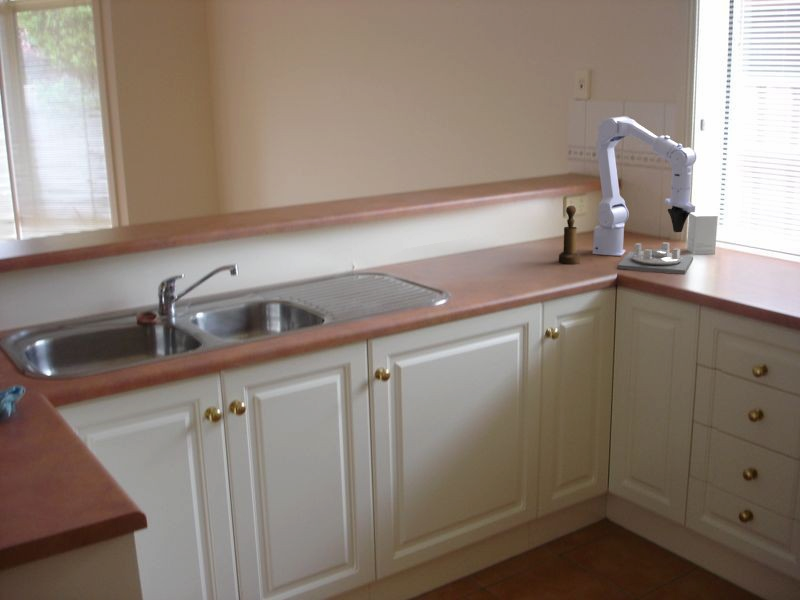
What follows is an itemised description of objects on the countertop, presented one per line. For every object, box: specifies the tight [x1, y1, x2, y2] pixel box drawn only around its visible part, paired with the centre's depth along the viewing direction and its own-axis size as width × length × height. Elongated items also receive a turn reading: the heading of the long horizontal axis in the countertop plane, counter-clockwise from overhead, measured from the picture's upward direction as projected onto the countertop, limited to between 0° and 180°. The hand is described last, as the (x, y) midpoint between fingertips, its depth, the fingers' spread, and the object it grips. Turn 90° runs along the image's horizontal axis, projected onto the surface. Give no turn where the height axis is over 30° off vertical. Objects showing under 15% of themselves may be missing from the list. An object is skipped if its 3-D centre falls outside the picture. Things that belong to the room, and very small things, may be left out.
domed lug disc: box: [632, 241, 682, 265], centre depth 294 cm, size 15×15×4 cm
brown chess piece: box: [558, 205, 581, 265], centre depth 297 cm, size 7×6×18 cm
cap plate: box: [617, 251, 694, 275], centre depth 295 cm, size 20×20×1 cm
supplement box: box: [686, 211, 719, 255], centre depth 310 cm, size 7×7×13 cm
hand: (677, 231), depth 292 cm, fingers closed
